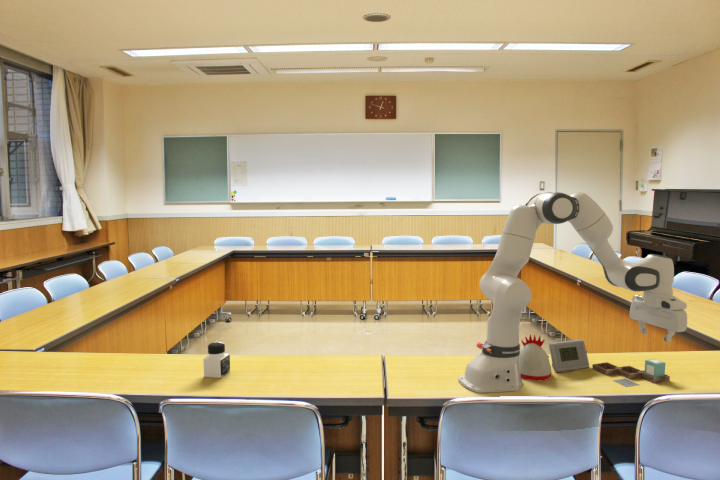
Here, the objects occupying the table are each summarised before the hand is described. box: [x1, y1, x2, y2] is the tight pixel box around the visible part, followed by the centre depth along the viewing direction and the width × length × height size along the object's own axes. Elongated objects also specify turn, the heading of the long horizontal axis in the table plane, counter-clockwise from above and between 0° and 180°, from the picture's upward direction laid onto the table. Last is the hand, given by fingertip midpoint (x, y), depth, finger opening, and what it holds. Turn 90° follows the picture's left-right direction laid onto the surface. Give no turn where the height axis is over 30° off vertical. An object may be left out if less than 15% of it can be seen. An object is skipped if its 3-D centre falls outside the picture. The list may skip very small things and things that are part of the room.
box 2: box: [615, 365, 645, 380], centre depth 173 cm, size 7×7×2 cm
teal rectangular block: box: [644, 358, 666, 378], centre depth 168 cm, size 4×4×7 cm
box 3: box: [638, 369, 671, 384], centre depth 169 cm, size 7×7×2 cm
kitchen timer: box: [519, 333, 552, 382], centre depth 175 cm, size 14×14×15 cm
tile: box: [612, 378, 640, 388], centre depth 165 cm, size 6×6×1 cm
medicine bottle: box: [202, 341, 231, 379], centre depth 175 cm, size 7×7×12 cm
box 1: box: [591, 361, 622, 376], centre depth 176 cm, size 7×7×2 cm
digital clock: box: [548, 339, 590, 373], centre depth 180 cm, size 16×9×11 cm, turn 96°
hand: (655, 337), depth 167 cm, fingers open, 8 cm apart
